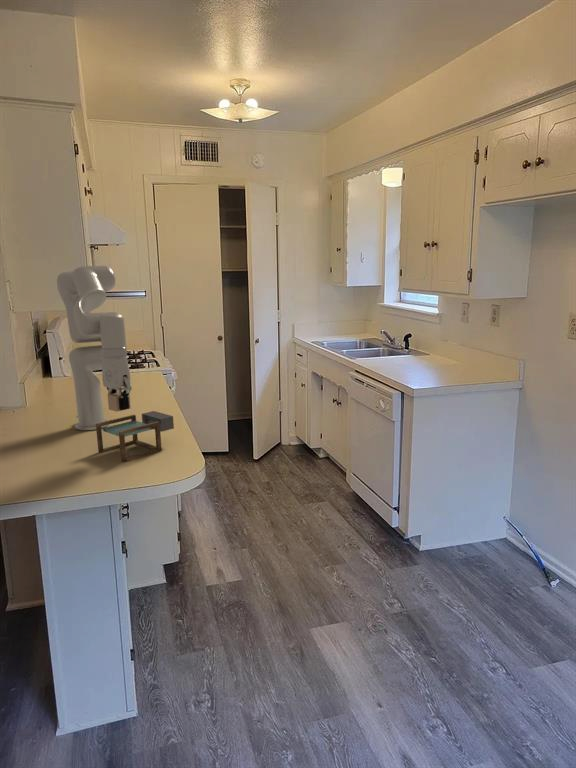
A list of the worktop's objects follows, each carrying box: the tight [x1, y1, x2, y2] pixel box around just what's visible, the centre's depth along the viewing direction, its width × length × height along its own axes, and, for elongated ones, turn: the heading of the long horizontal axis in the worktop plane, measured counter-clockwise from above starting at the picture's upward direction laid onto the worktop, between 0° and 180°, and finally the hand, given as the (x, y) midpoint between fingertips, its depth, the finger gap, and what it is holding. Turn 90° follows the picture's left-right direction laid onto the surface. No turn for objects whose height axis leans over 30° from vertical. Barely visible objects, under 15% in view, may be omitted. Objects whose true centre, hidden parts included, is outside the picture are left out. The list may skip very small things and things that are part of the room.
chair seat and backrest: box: [102, 410, 175, 438], centre depth 188 cm, size 12×20×4 cm, turn 137°
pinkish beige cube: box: [107, 391, 131, 413], centre depth 181 cm, size 5×5×5 cm
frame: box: [96, 414, 163, 463], centre depth 185 cm, size 16×14×10 cm
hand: (119, 407), depth 181 cm, fingers closed on pinkish beige cube, 5 cm apart
